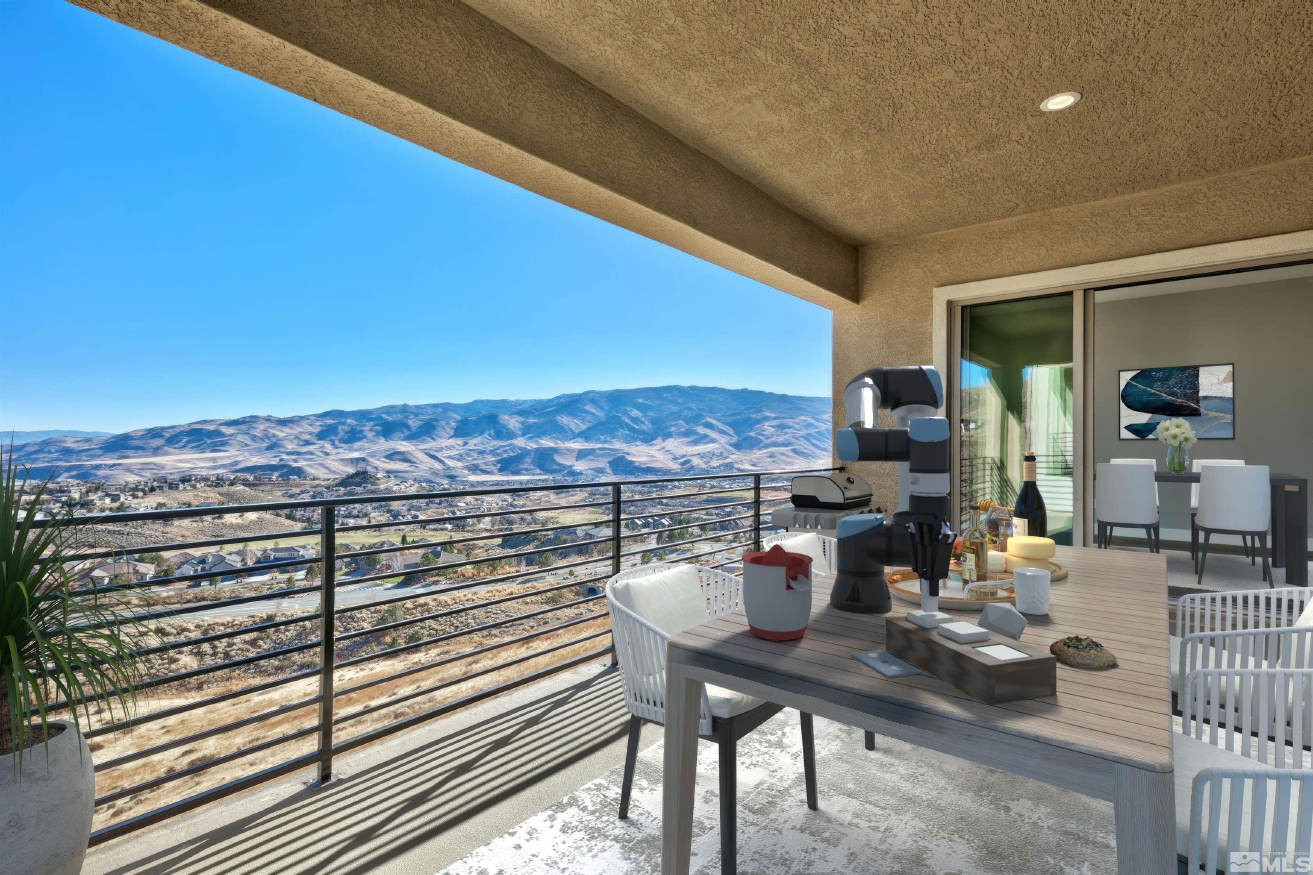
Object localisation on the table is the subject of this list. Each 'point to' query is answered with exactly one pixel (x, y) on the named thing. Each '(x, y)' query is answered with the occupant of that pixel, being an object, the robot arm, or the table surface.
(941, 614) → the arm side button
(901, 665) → the pattern card
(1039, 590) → the white cup
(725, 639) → the table surface
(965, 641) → the middle button
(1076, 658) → the bread roll
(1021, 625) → the die
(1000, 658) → the outer button
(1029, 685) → the button box
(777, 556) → the citrus juicer
